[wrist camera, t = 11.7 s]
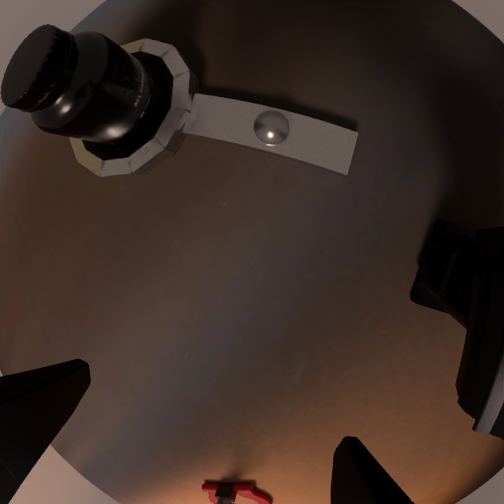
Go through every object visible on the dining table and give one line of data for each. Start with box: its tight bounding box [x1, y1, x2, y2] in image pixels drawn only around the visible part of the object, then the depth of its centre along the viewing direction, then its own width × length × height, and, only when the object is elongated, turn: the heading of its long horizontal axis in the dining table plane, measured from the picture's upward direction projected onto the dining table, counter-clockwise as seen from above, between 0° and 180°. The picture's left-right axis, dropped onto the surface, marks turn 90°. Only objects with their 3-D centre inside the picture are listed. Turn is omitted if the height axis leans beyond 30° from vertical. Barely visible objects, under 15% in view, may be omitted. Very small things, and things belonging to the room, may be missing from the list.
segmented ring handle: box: [101, 38, 358, 178], centre depth 18 cm, size 17×12×2 cm
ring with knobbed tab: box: [69, 39, 151, 176], centre depth 19 cm, size 13×12×2 cm
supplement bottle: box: [1, 24, 168, 148], centre depth 14 cm, size 7×7×12 cm
